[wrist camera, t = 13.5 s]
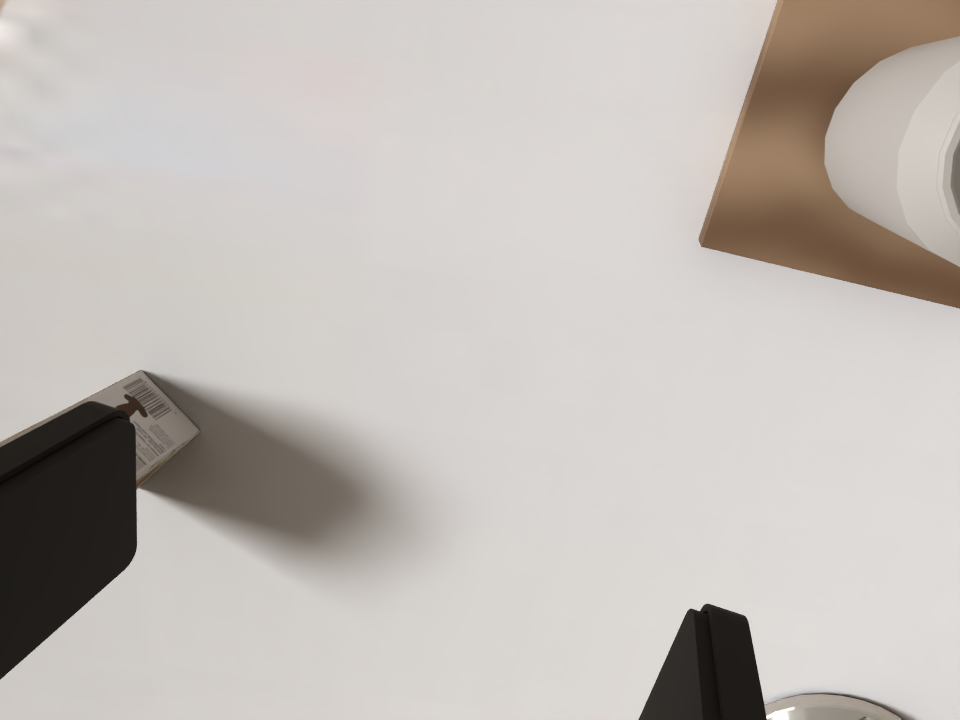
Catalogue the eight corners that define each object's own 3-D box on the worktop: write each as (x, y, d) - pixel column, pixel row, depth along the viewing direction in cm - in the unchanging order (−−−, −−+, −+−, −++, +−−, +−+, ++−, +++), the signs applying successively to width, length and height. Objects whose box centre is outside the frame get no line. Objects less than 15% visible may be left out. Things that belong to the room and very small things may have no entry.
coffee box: (139, 491, 51) (-66, 646, 36) (79, 431, 50) (-155, 565, 35) (204, 430, 47) (5, 576, 32) (140, 363, 46) (-93, 483, 32)
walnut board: (981, 306, 32) (1000, 318, 31) (698, 239, 34) (701, 246, 33) (1150, -11, 27) (1186, -19, 25) (800, -70, 29) (811, -81, 27)
